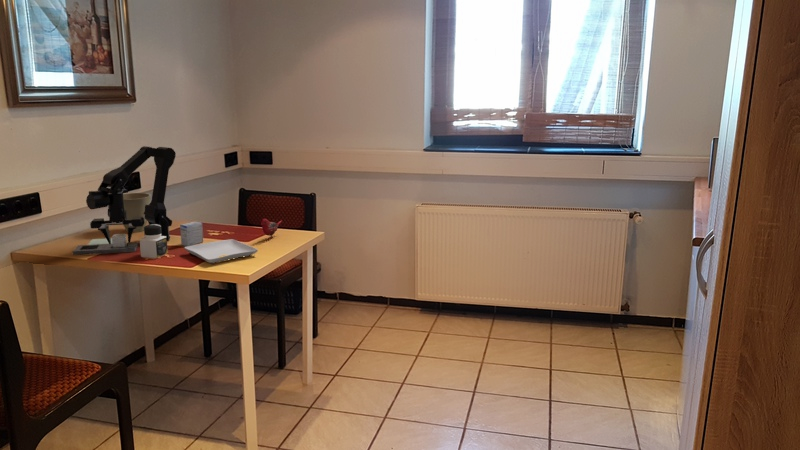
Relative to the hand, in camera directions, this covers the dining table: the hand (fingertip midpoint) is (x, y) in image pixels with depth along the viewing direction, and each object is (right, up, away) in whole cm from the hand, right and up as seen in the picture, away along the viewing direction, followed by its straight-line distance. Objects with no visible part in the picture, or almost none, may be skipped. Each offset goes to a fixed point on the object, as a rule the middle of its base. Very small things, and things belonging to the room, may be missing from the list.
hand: (119, 243), depth 235 cm
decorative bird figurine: (+56, +2, +23) cm, 60 cm away
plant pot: (-8, +5, +31) cm, 32 cm away
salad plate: (+42, -5, -4) cm, 42 cm away
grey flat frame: (-5, -3, -1) cm, 6 cm away
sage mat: (-10, 0, +10) cm, 14 cm away
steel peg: (0, -3, +1) cm, 3 cm away
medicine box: (+25, -1, +12) cm, 27 cm away
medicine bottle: (+16, -5, -6) cm, 18 cm away
